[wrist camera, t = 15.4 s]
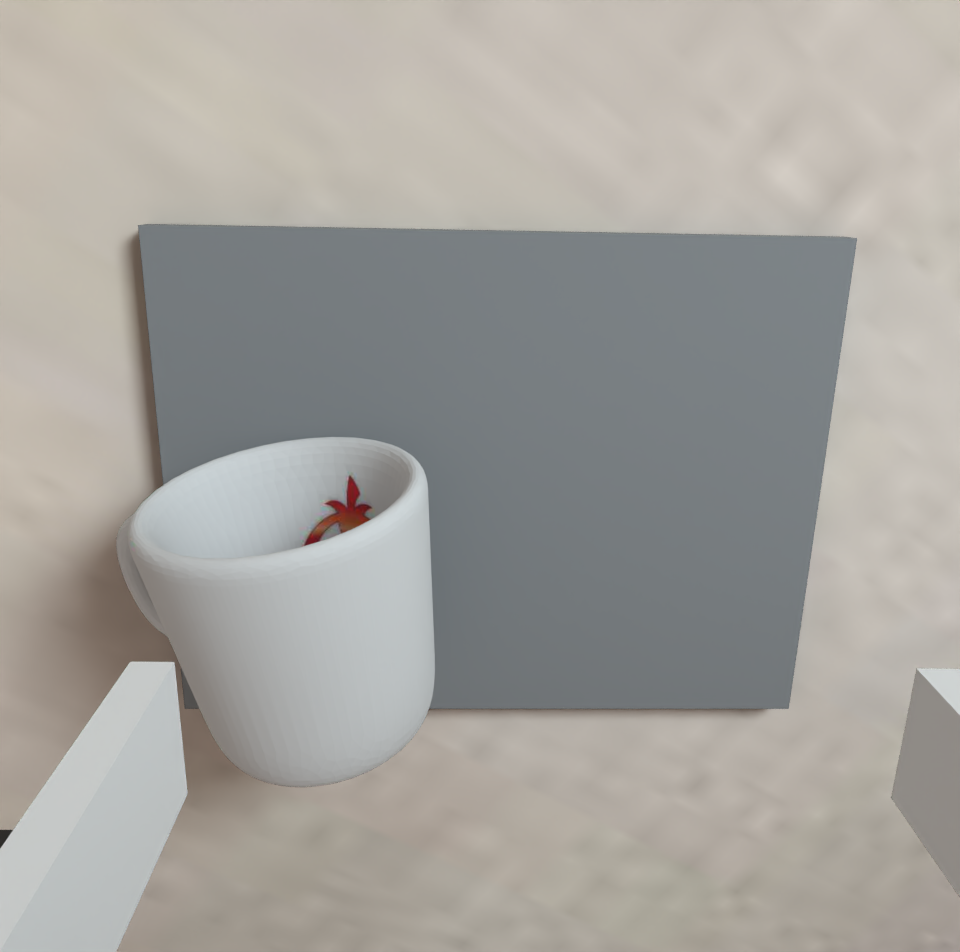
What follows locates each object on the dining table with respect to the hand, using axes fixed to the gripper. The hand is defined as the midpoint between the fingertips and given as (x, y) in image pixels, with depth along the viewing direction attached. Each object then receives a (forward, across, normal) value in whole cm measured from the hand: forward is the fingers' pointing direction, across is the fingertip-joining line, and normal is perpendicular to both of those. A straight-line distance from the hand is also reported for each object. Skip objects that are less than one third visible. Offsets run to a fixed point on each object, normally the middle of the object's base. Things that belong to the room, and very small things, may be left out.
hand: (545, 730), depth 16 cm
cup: (+10, -7, -7) cm, 14 cm away
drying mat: (+14, 0, 0) cm, 14 cm away
